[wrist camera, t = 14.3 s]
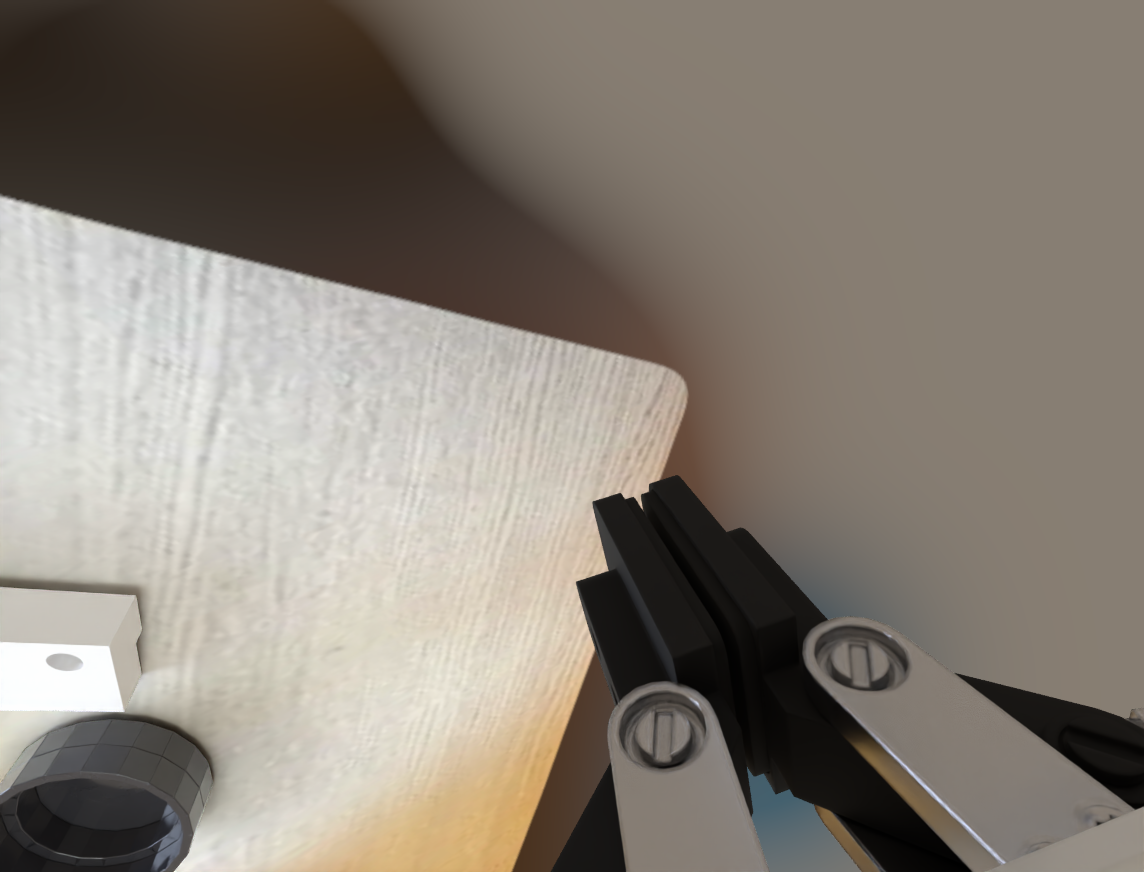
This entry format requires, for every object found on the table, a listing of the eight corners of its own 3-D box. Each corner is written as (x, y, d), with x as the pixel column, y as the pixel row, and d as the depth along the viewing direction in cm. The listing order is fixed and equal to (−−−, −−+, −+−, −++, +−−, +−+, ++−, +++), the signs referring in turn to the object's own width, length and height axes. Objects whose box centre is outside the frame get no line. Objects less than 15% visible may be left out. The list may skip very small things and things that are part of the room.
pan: (-27, 752, 39) (-80, 818, 35) (160, 690, 40) (130, 746, 36) (80, 858, 44) (44, 925, 40) (244, 799, 45) (225, 859, 41)
